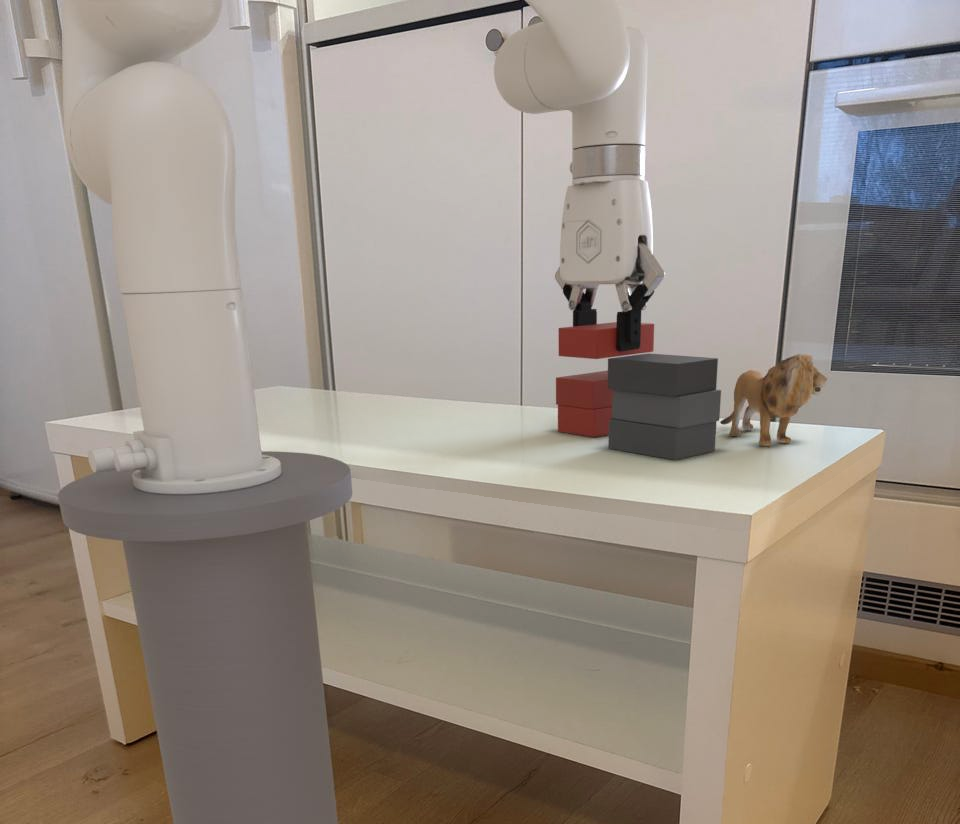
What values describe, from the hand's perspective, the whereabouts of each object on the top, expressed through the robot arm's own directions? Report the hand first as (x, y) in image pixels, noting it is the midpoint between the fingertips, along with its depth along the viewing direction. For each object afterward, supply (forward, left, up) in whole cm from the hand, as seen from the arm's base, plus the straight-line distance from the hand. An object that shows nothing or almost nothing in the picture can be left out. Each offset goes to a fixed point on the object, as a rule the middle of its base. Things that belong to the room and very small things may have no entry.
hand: (606, 346), depth 105 cm
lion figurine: (+7, -17, -9) cm, 21 cm away
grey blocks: (-5, -13, -9) cm, 17 cm away
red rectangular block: (0, 0, -1) cm, 1 cm away
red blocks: (0, 0, -9) cm, 9 cm away
